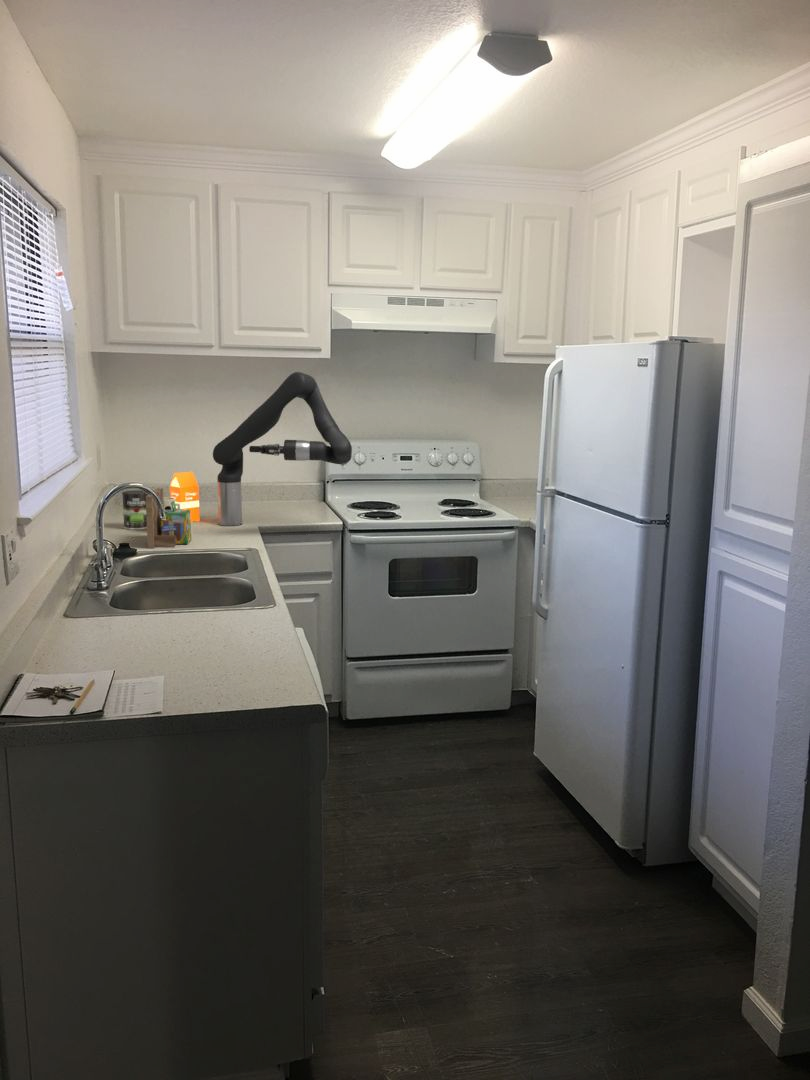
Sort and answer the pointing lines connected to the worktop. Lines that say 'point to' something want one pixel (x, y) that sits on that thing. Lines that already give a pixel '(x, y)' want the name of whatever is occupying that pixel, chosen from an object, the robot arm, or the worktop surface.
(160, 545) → the display bay
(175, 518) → the chalk box
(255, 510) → the worktop surface
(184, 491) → the orange juice
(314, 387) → the robot arm
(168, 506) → the character mug
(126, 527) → the coffee can
